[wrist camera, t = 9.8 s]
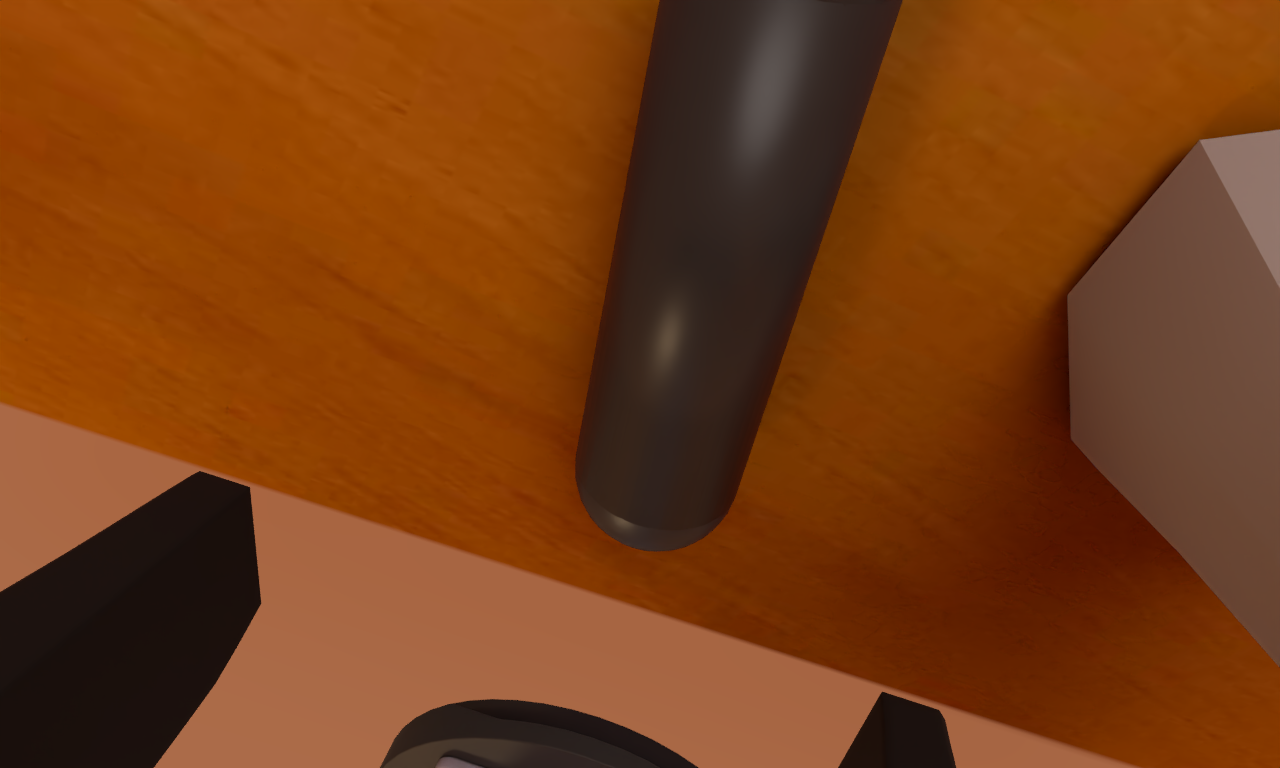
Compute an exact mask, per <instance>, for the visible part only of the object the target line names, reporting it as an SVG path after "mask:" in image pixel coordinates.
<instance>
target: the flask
mask: <svg viewBox="0 0 1280 768" xmlns="http://www.w3.org/2000/svg"><path fill="white" fill-rule="evenodd" d="M1067 301H1068V343H1069V385H1070V426H1071V440H1072V441H1073V442H1074V443H1075V444H1076V445H1077V447H1078V448H1079V449H1080V450H1081V451H1082V452H1083V453H1084V455H1085V456H1086V457H1087V458H1088V459H1089V460H1090V461H1091V462H1092V464H1093V465H1094V466H1095V467H1096V468H1097V469H1098V470H1099V471H1100V472H1101V473H1102V474H1103V475H1104V476H1105V477H1106V478H1107V479H1108V480H1109V481H1110V482H1111V483H1112V485H1113V486H1114V487H1115V488H1116V489H1117V490H1118V491H1119V492H1120V493H1121V494H1122V495H1123V496H1124V497H1125V498H1126V499H1127V500H1128V501H1129V502H1130V503H1131V504H1132V505H1133V506H1134V507H1135V508H1136V509H1137V510H1138V511H1139V512H1140V513H1141V514H1142V515H1143V516H1144V517H1145V518H1146V519H1147V520H1148V521H1149V523H1150V524H1151V525H1152V526H1153V527H1154V528H1155V529H1156V530H1157V531H1158V532H1159V533H1160V534H1161V535H1162V536H1163V537H1164V538H1165V539H1166V540H1167V541H1168V542H1169V543H1170V544H1171V545H1172V546H1173V547H1174V548H1175V549H1176V550H1177V551H1178V552H1179V554H1180V555H1181V556H1182V557H1183V558H1184V559H1185V560H1186V561H1187V563H1188V564H1189V565H1190V566H1191V567H1192V568H1193V569H1194V571H1195V572H1196V573H1197V574H1198V575H1199V576H1200V577H1201V579H1202V580H1203V581H1204V582H1205V583H1206V584H1207V585H1208V586H1209V588H1210V589H1211V590H1212V591H1213V592H1214V593H1215V594H1216V596H1217V597H1218V598H1219V599H1220V600H1221V601H1222V602H1223V604H1224V605H1225V606H1226V607H1227V608H1228V609H1229V610H1230V611H1231V613H1232V614H1233V615H1234V616H1235V617H1236V618H1237V619H1238V621H1239V622H1240V623H1241V624H1242V625H1243V626H1244V627H1245V629H1246V630H1247V631H1248V632H1249V633H1250V634H1251V635H1252V637H1253V638H1254V639H1255V640H1256V641H1257V642H1258V643H1259V644H1260V646H1261V647H1262V648H1263V649H1264V650H1265V651H1266V652H1267V654H1268V655H1269V656H1270V657H1271V658H1272V659H1273V660H1274V662H1275V663H1276V664H1277V665H1278V666H1279V667H1280V130H1273V131H1265V132H1258V133H1250V134H1242V135H1235V136H1227V137H1220V138H1212V139H1204V140H1199V141H1198V143H1197V144H1196V145H1195V146H1194V147H1193V148H1192V150H1191V151H1190V152H1189V153H1188V154H1187V155H1186V157H1185V158H1184V159H1183V160H1182V161H1181V162H1180V164H1179V165H1178V166H1177V167H1176V168H1175V169H1174V171H1173V172H1172V173H1171V174H1170V175H1169V177H1168V178H1167V179H1166V180H1165V181H1164V182H1163V184H1162V185H1161V186H1160V187H1159V188H1158V189H1157V191H1156V192H1155V193H1154V194H1153V195H1152V196H1151V198H1150V199H1149V200H1148V201H1147V202H1146V203H1145V205H1144V206H1143V207H1142V208H1141V209H1140V211H1139V212H1138V213H1137V214H1136V215H1135V216H1134V218H1133V219H1132V220H1131V221H1130V222H1129V223H1128V225H1127V226H1126V227H1125V228H1124V229H1123V230H1122V232H1121V233H1120V234H1119V235H1118V236H1117V238H1116V239H1115V240H1114V241H1113V242H1112V243H1111V245H1110V246H1109V247H1108V248H1107V249H1106V250H1105V252H1104V253H1103V254H1102V255H1101V256H1100V257H1099V259H1098V260H1097V261H1096V262H1095V263H1094V264H1093V266H1092V267H1091V268H1090V269H1089V270H1088V272H1087V273H1086V274H1085V275H1084V276H1083V277H1082V279H1081V280H1080V281H1079V282H1078V283H1077V284H1076V286H1075V287H1074V288H1073V289H1072V290H1071V291H1070V293H1069V294H1068V295H1067Z"/></svg>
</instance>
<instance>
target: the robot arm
mask: <svg viewBox="0 0 1280 768" xmlns="http://www.w3.org/2000/svg"><path fill="white" fill-rule="evenodd" d="M260 605H261V597H260V587H259V576H258V566H257V556H256V546H255V535H254V525H253V515H252V505H251V494H250V487H248V486H244V485H241V484H238V483H235V482H232V481H229V480H226V479H223V478H220V477H216V476H214V475H210V474H207V473H204V472H201V471H199V472H197V473H195V474H193V475H191V476H190V477H188V478H186V479H185V480H183V481H182V482H180V483H178V484H177V485H175V486H173V487H172V488H170V489H168V490H167V491H165V492H164V493H162V494H161V495H159V496H157V497H156V498H154V499H152V500H151V501H149V502H148V503H146V504H145V505H143V506H141V507H140V508H138V509H136V510H135V511H133V512H132V513H130V514H129V515H127V516H125V517H124V518H122V519H120V520H119V521H117V522H116V523H114V524H112V525H111V526H109V527H108V528H106V529H105V530H103V531H101V532H99V533H98V534H96V535H95V536H93V537H91V538H90V539H88V540H86V541H85V542H83V543H82V544H80V545H78V546H77V547H75V548H73V549H72V550H70V551H69V552H67V553H65V554H64V555H62V556H60V557H59V558H57V559H55V560H54V561H52V562H50V563H48V564H47V565H45V566H43V567H42V568H40V569H38V570H37V571H35V572H33V573H32V574H30V575H28V576H26V577H25V578H23V579H21V580H20V581H18V582H16V583H15V584H13V585H11V586H10V587H8V588H6V589H5V590H3V591H1V592H0V768H154V767H155V765H156V764H157V763H158V761H159V760H160V759H161V757H162V756H163V754H164V753H165V752H166V750H167V749H168V748H169V746H170V745H171V744H172V742H173V741H174V740H175V738H176V737H177V735H178V734H179V733H180V731H181V730H182V729H183V727H184V726H185V725H186V723H187V722H188V721H189V719H190V718H191V717H192V715H193V714H194V712H195V711H196V710H197V708H198V707H199V705H200V704H201V703H202V701H203V700H204V699H205V697H206V696H207V694H208V693H209V692H210V690H211V689H212V688H213V686H214V685H215V683H216V682H217V680H218V678H219V676H220V675H221V673H222V671H223V670H224V668H225V666H226V665H227V663H228V661H229V660H230V658H231V656H232V655H233V653H234V651H235V649H236V648H237V646H238V644H239V642H240V641H241V638H242V637H243V635H244V633H245V632H246V630H247V628H248V626H249V624H250V623H251V620H252V619H253V617H254V615H255V614H256V612H257V610H258V608H259V606H260ZM435 768H485V767H482V766H479V765H476V764H473V763H470V762H467V761H464V760H461V759H458V758H455V757H443V758H441V759H439V761H438V763H437V765H436V767H435ZM838 768H956V765H955V761H954V757H953V753H952V749H951V744H950V740H949V736H948V731H947V727H946V722H945V719H944V718H943V716H942V714H941V713H940V711H939V710H937V709H934V708H931V707H928V706H925V705H922V704H919V703H916V702H912V701H909V700H906V699H903V698H900V697H897V696H894V695H891V694H888V693H885V692H882V693H881V694H880V696H879V698H878V700H877V701H876V703H875V705H874V706H873V708H872V710H871V712H870V713H869V715H868V717H867V719H866V720H865V722H864V724H863V726H862V727H861V729H860V731H859V733H858V734H857V736H856V738H855V739H854V741H853V743H852V745H851V746H850V749H849V750H848V752H847V753H846V755H845V757H844V759H843V760H842V762H841V764H840V766H839V767H838Z"/></svg>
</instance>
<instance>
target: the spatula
mask: <svg viewBox="0 0 1280 768" xmlns="http://www.w3.org/2000/svg"><path fill="white" fill-rule="evenodd" d="M901 3H902V0H660V2H659V7H658V12H657V18H656V23H655V29H654V34H653V40H652V45H651V51H650V56H649V61H648V67H647V72H646V78H645V83H644V89H643V94H642V99H641V105H640V110H639V116H638V121H637V127H636V132H635V137H634V143H633V148H632V154H631V159H630V165H629V170H628V176H627V181H626V186H625V192H624V197H623V203H622V208H621V214H620V219H619V224H618V230H617V235H616V241H615V246H614V252H613V257H612V263H611V268H610V273H609V279H608V284H607V290H606V295H605V301H604V306H603V311H602V317H601V322H600V328H599V333H598V339H597V344H596V349H595V355H594V360H593V366H592V371H591V377H590V382H589V388H588V393H587V398H586V404H585V409H584V415H583V420H582V426H581V431H580V436H579V442H578V447H577V453H576V468H575V478H576V482H577V487H578V491H579V494H580V498H581V501H582V503H583V505H584V506H585V508H586V510H587V512H588V513H589V515H590V517H591V518H592V519H593V521H594V522H595V523H596V524H597V525H598V527H599V528H601V529H602V530H603V531H604V532H605V533H607V534H608V535H609V536H611V537H612V538H614V539H616V540H617V541H619V542H621V543H622V544H625V545H627V546H630V547H632V548H636V549H640V550H644V551H669V550H675V549H679V548H683V547H686V546H688V545H690V544H693V543H695V542H697V541H698V540H700V539H702V538H704V537H705V536H706V535H708V534H709V533H710V532H711V531H713V530H714V529H715V527H716V526H717V525H718V524H719V523H720V522H721V521H722V519H723V518H724V517H725V516H726V514H727V513H728V511H729V509H730V507H731V505H732V503H733V501H734V499H735V496H736V493H737V490H738V487H739V484H740V481H741V478H742V475H743V473H744V470H745V467H746V464H747V461H748V458H749V455H750V452H751V449H752V446H753V443H754V440H755V437H756V434H757V431H758V428H759V425H760V422H761V419H762V416H763V413H764V410H765V407H766V404H767V401H768V398H769V395H770V392H771V389H772V386H773V383H774V380H775V378H776V375H777V372H778V369H779V366H780V363H781V360H782V357H783V354H784V351H785V348H786V345H787V342H788V339H789V336H790V333H791V330H792V327H793V324H794V321H795V318H796V315H797V312H798V309H799V306H800V303H801V300H802V297H803V294H804V291H805V288H806V285H807V283H808V280H809V277H810V274H811V271H812V268H813V265H814V262H815V259H816V256H817V253H818V250H819V247H820V244H821V241H822V238H823V235H824V232H825V229H826V226H827V223H828V220H829V217H830V214H831V211H832V208H833V205H834V202H835V199H836V196H837V193H838V190H839V188H840V185H841V182H842V179H843V176H844V173H845V170H846V167H847V164H848V161H849V158H850V155H851V152H852V149H853V146H854V143H855V140H856V137H857V134H858V131H859V128H860V125H861V122H862V119H863V116H864V113H865V110H866V107H867V104H868V101H869V98H870V95H871V93H872V90H873V87H874V84H875V81H876V78H877V75H878V72H879V69H880V66H881V63H882V60H883V57H884V54H885V51H886V48H887V45H888V42H889V39H890V36H891V33H892V30H893V27H894V24H895V21H896V18H897V15H898V12H899V9H900V6H901Z"/></svg>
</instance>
